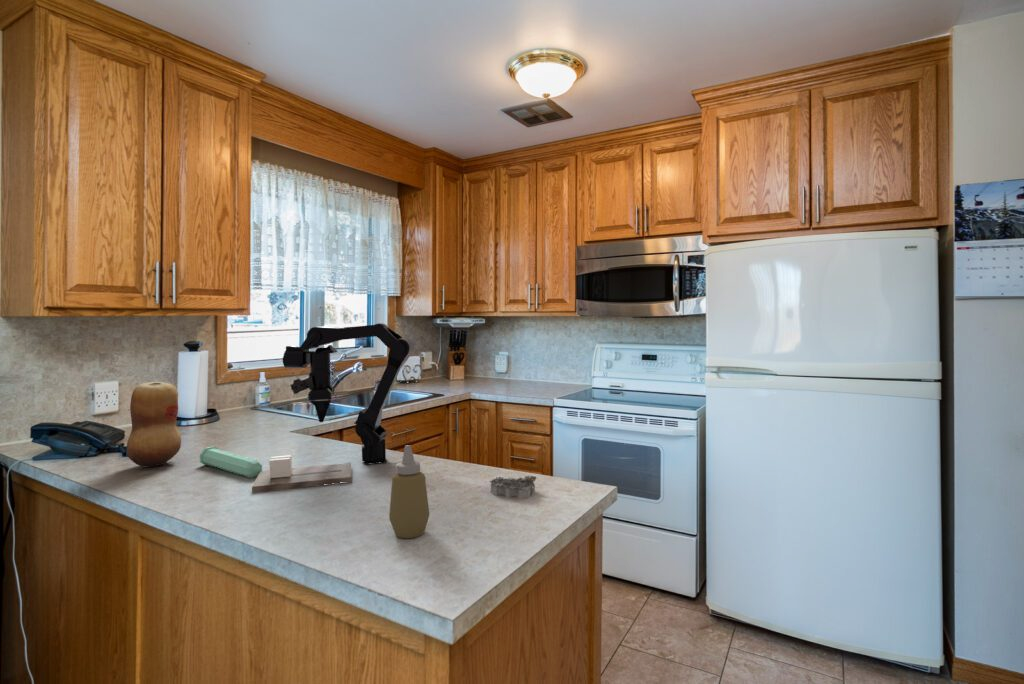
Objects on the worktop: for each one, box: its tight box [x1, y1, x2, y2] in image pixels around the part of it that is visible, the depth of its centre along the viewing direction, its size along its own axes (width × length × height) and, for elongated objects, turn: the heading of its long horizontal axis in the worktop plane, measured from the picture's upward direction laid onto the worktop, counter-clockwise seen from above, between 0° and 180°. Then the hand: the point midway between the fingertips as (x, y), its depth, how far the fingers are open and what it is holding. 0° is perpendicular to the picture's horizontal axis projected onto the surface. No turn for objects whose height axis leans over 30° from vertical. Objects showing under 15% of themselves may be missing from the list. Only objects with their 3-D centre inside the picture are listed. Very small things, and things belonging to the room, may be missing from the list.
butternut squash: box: [126, 381, 182, 467], centre depth 158 cm, size 14×13×25 cm
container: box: [199, 445, 263, 479], centre depth 152 cm, size 6×6×25 cm
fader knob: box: [269, 454, 293, 478], centre depth 141 cm, size 5×4×5 cm
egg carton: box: [489, 475, 537, 500], centre depth 130 cm, size 11×8×4 cm
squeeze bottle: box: [388, 444, 430, 539], centre depth 106 cm, size 8×8×18 cm
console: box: [251, 462, 352, 493], centre depth 143 cm, size 24×14×2 cm, turn 107°
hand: (322, 419), depth 159 cm, fingers open, 9 cm apart
